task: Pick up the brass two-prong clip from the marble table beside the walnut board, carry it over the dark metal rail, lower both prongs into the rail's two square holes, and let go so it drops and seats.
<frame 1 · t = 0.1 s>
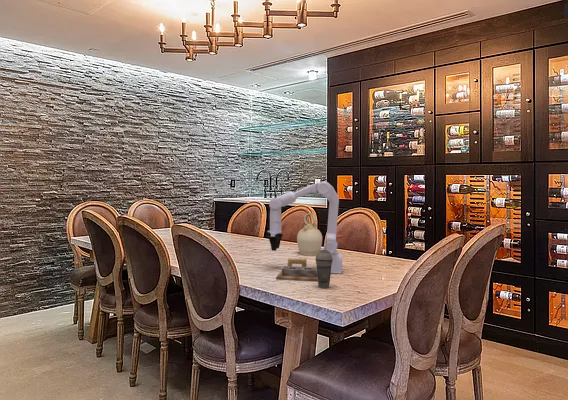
hand: (275, 249, 213), 10 cm above the table, fingers open, 7 cm apart
beverage cup: (323, 287, 179), on the table
jug: (309, 254, 261), on the table
rail board: (300, 277, 197), on the table
brass clip: (297, 271, 209), on the table
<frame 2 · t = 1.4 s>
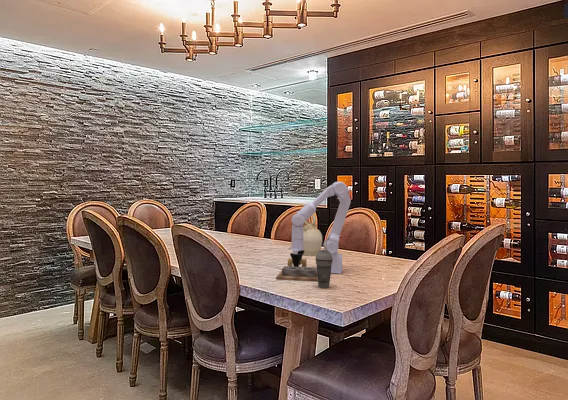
hand: (297, 266, 209), 2 cm above the table, fingers open, 7 cm apart
nothing on the table moved.
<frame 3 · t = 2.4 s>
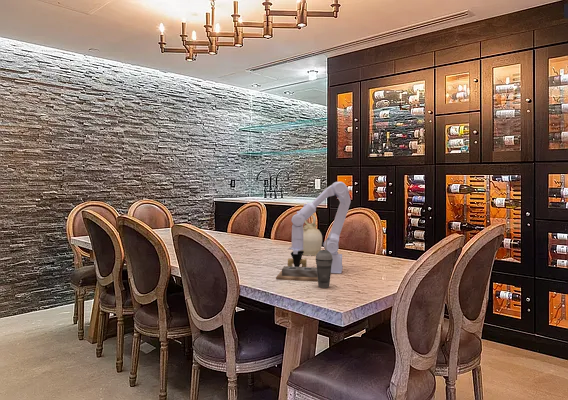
hand: (297, 266, 209), 2 cm above the table, fingers closed on brass clip, 3 cm apart
brass clip: (297, 271, 209), on the table, touching gripper
everything else where it was.
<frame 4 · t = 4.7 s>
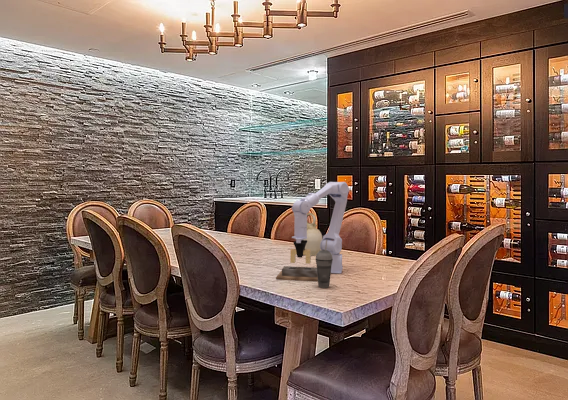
hand: (300, 256, 196), 9 cm above the table, fingers closed on brass clip, 3 cm apart
brass clip: (300, 262, 196), point 7 cm above the table, touching gripper
everything else where it was.
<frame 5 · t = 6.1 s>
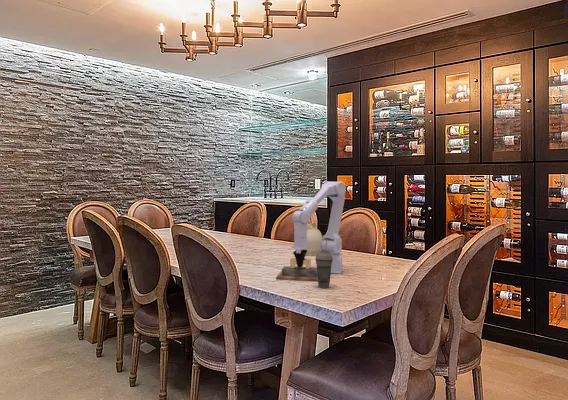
hand: (300, 266, 196), 5 cm above the table, fingers closed on brass clip, 3 cm apart
brass clip: (300, 272, 197), point 2 cm above the table, touching gripper
everything else where it was.
when the fingers open (5 cm above the table, at t = 7.1 s): brass clip drops 1 cm, resting on rail board.
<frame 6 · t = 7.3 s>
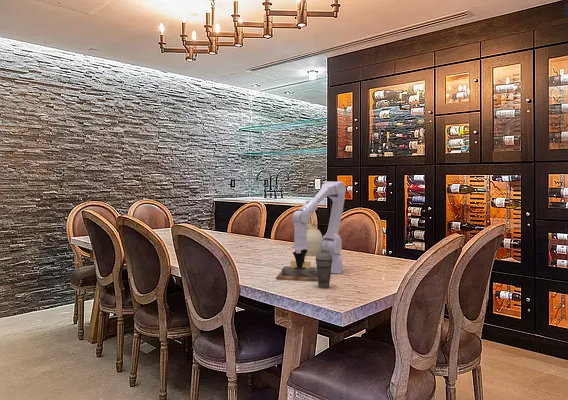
hand: (300, 266, 196), 5 cm above the table, fingers open, 5 cm apart
brass clip: (300, 274, 197), point 1 cm above the table, touching rail board
everything else where it was.
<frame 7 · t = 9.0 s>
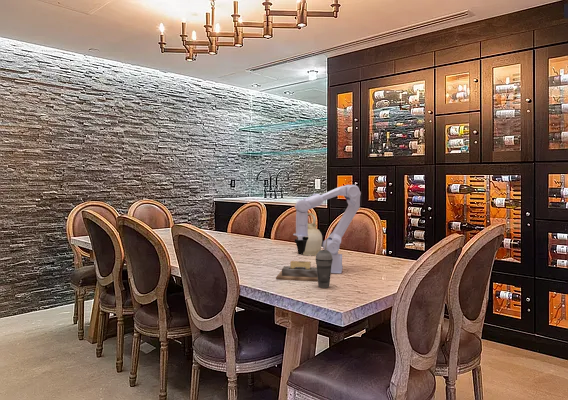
hand: (301, 253, 207), 9 cm above the table, fingers open, 7 cm apart
nothing on the table moved.
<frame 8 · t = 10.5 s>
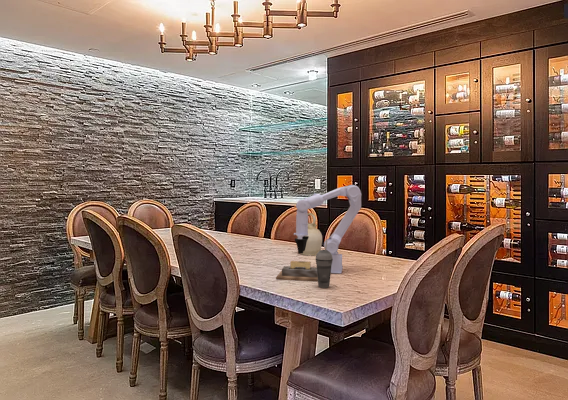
hand: (301, 252, 209), 9 cm above the table, fingers open, 7 cm apart
nothing on the table moved.
at the end: brass clip 0.1 cm off-centre on the rail board, point 1.0 cm above the rail board's base; brass clip tilted 0°; the gripper is holding nothing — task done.
